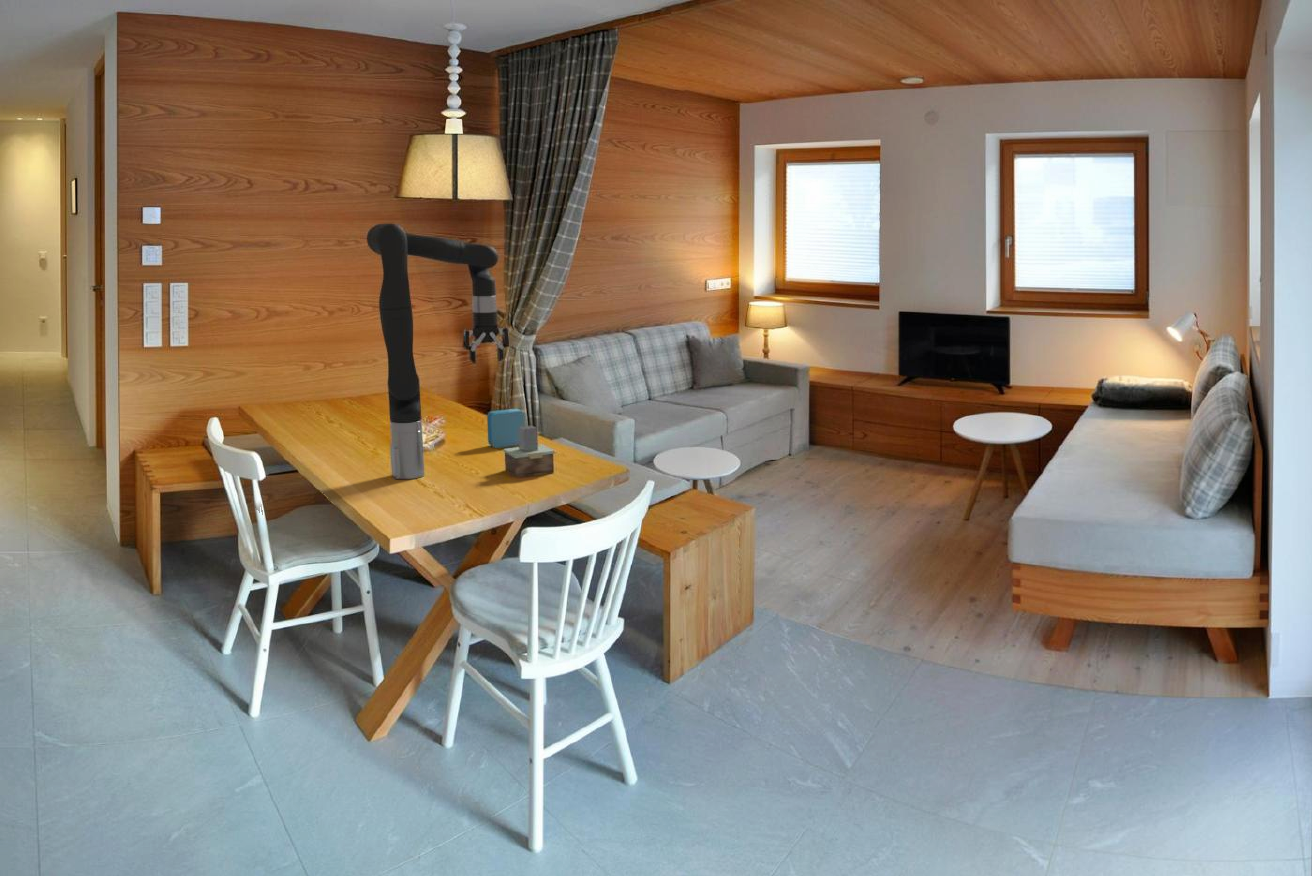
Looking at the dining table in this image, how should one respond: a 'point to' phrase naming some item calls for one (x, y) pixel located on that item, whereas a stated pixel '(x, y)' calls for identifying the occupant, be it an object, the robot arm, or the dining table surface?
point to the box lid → (531, 454)
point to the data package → (504, 427)
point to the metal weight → (528, 438)
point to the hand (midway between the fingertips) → (486, 361)
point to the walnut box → (529, 465)
